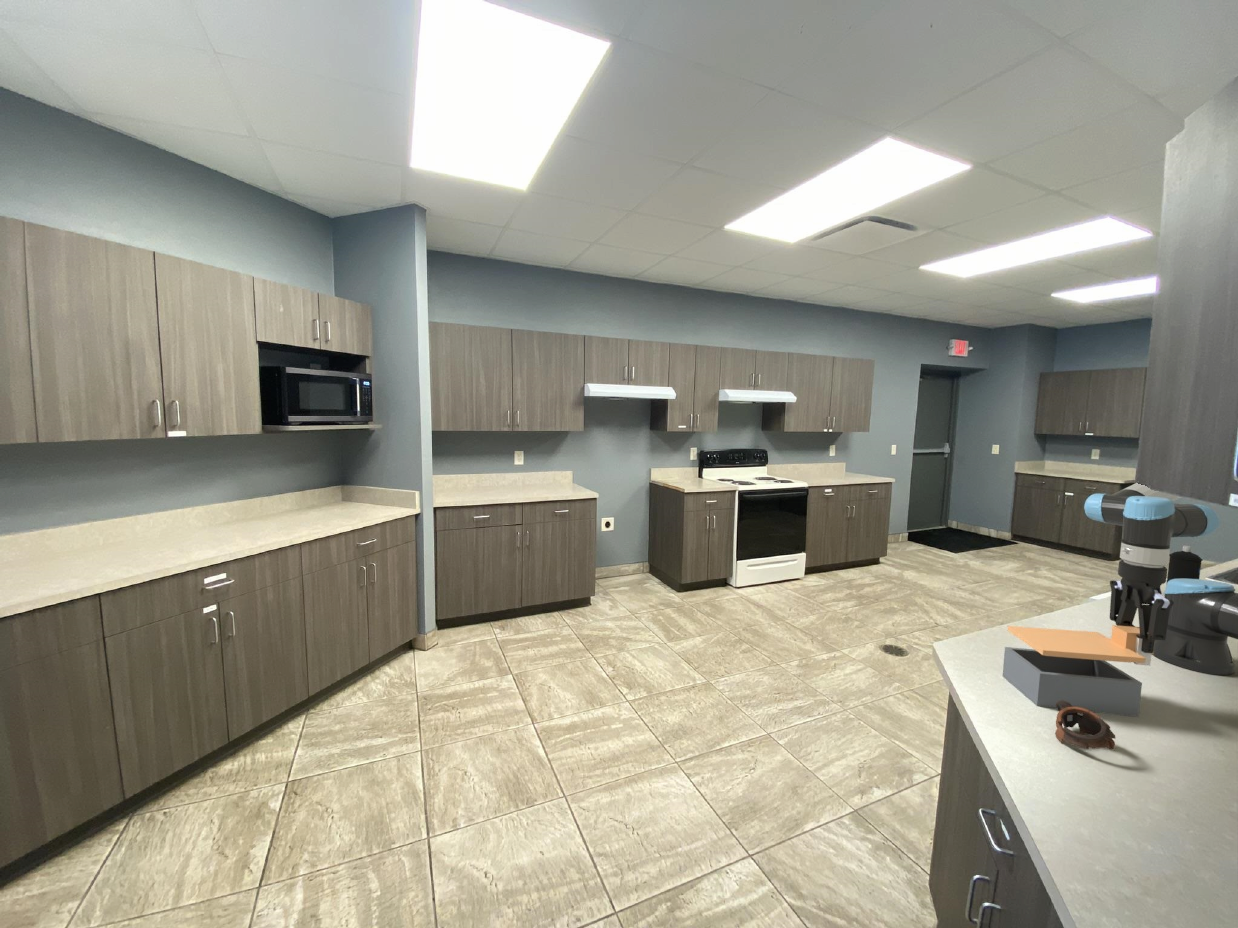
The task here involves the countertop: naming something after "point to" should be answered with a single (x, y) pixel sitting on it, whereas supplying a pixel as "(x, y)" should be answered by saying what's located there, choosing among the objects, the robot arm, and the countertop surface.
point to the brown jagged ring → (1082, 727)
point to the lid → (1083, 643)
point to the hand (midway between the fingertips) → (1132, 658)
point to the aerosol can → (1184, 565)
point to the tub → (1072, 682)
